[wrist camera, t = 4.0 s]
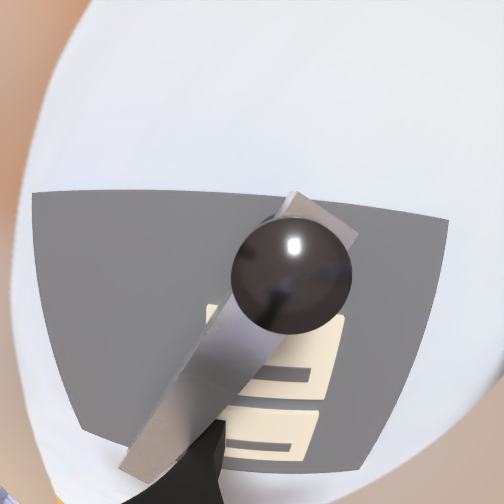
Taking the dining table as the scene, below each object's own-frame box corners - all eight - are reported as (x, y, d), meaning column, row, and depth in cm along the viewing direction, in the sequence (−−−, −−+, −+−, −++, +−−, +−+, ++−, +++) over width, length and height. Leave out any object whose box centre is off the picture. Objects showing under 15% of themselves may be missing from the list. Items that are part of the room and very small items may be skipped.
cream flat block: (318, 410, 11) (319, 415, 10) (302, 457, 12) (302, 462, 11) (208, 402, 11) (206, 407, 11) (210, 450, 12) (208, 455, 12)
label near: (343, 314, 10) (345, 319, 9) (322, 395, 11) (324, 400, 10) (207, 304, 10) (205, 308, 10) (208, 386, 11) (206, 392, 10)
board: (436, 217, 10) (448, 220, 9) (356, 458, 13) (358, 469, 12) (45, 191, 11) (32, 193, 10) (88, 420, 14) (82, 429, 13)
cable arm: (346, 229, 8) (382, 249, 5) (168, 456, 11) (153, 496, 8) (278, 183, 8) (282, 180, 5) (126, 434, 11) (105, 472, 8)
